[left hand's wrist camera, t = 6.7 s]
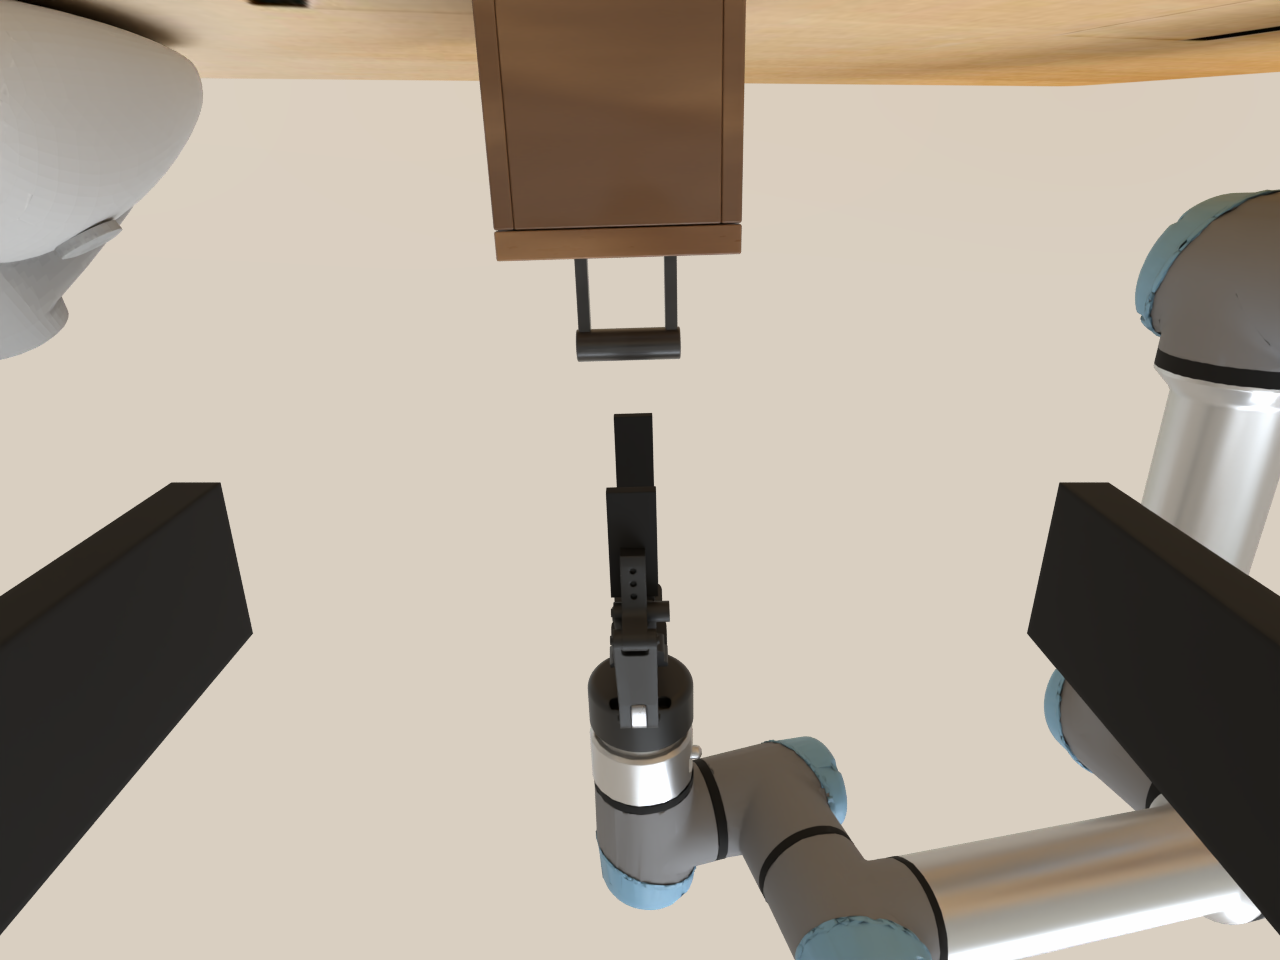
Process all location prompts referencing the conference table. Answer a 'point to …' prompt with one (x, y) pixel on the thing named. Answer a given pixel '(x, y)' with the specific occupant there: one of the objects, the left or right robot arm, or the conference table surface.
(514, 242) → the lid
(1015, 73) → the conference table surface
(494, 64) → the chest
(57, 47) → the projector
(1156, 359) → the right robot arm
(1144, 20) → the conference table surface
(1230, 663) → the left robot arm
